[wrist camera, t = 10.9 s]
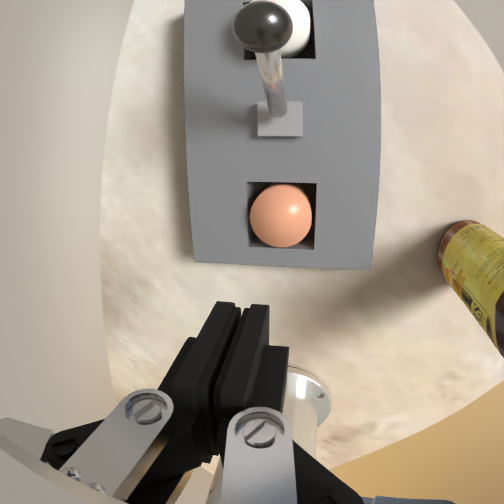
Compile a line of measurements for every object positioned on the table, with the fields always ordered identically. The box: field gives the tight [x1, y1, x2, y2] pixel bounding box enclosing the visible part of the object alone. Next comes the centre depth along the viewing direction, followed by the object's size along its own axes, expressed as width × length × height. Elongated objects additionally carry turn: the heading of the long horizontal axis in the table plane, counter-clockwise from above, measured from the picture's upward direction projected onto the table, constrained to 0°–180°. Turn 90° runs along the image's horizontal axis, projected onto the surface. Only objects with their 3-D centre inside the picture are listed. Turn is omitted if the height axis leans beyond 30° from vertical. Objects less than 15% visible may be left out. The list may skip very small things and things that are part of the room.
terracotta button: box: [250, 182, 312, 247], centre depth 23 cm, size 4×4×4 cm
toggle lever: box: [232, 0, 293, 118], centre depth 14 cm, size 3×3×9 cm
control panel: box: [184, 0, 381, 271], centre depth 21 cm, size 22×14×4 cm, turn 1°
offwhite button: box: [251, 0, 310, 59], centre depth 17 cm, size 4×4×4 cm
